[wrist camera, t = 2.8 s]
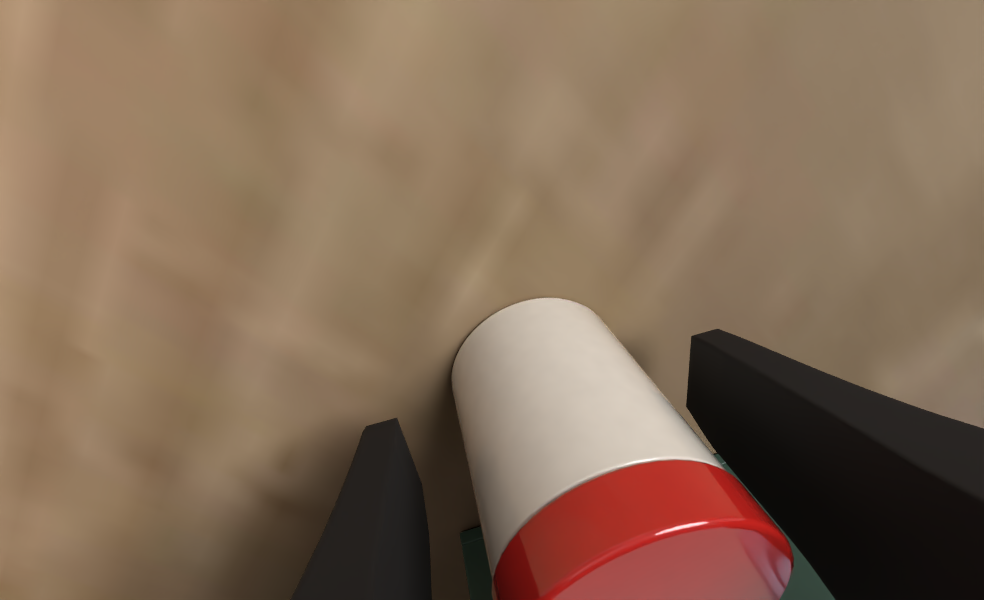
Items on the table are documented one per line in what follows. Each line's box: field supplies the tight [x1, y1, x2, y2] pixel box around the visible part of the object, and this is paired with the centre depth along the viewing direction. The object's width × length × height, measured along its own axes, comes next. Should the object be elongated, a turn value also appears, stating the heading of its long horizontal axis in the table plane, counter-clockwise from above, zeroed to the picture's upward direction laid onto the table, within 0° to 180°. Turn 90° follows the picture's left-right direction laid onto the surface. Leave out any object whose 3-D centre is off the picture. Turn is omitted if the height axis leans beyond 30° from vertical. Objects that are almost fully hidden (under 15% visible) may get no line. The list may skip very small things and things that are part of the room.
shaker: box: [451, 298, 794, 600], centre depth 8 cm, size 4×4×6 cm
